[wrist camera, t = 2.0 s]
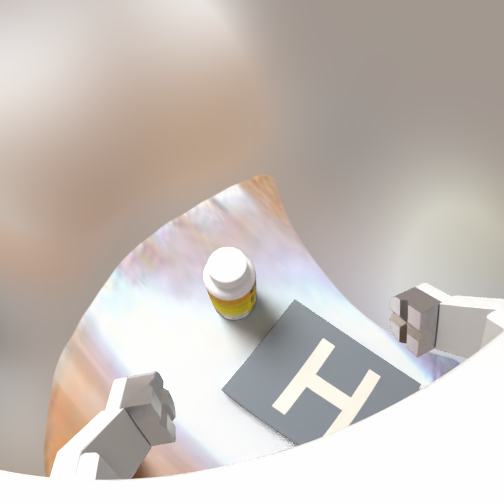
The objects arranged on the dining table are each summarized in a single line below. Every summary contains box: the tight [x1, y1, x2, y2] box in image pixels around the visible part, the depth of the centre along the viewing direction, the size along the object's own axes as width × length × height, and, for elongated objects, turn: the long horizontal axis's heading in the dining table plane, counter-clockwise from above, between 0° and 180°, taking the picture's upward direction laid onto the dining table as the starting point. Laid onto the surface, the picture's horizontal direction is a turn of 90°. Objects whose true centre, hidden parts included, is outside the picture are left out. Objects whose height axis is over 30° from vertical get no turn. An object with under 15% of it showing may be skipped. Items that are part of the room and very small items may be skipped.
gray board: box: [222, 299, 421, 445], centre depth 31 cm, size 20×14×2 cm
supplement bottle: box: [203, 247, 256, 320], centre depth 34 cm, size 6×6×10 cm
